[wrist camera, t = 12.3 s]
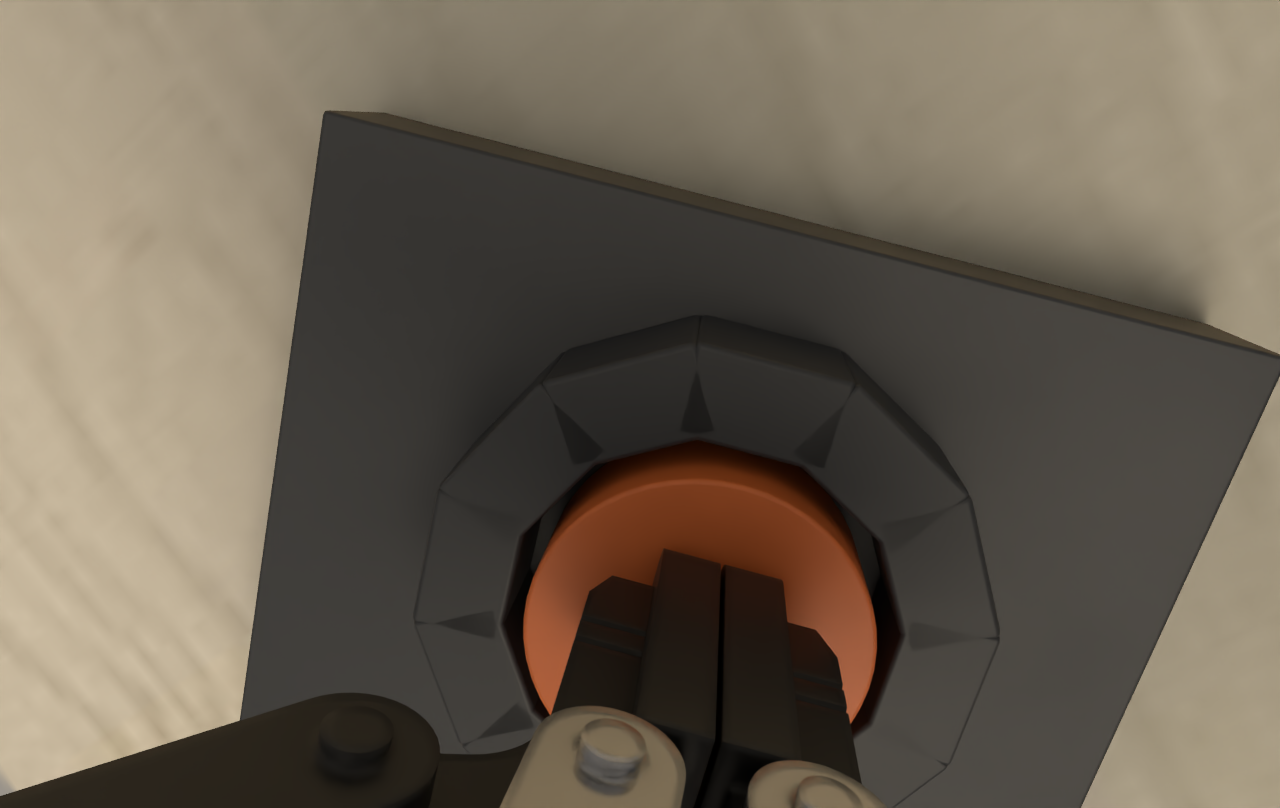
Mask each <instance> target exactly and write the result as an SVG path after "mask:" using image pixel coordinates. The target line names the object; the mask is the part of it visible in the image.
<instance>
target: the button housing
mask: <svg viewBox="0 0 1280 808" xmlns="http://www.w3.org/2000/svg"><path fill="white" fill-rule="evenodd" d="M1279 376H1280V355H1279V354H1277V353H1275V352H1272V351H1270V350H1267V349H1265V348H1263V347H1260V346H1258V345H1256V344H1253V343H1251V342H1248V341H1246V340H1244V339H1241V338H1239V337H1236V336H1234V335H1232V334H1229V333H1227V332H1225V331H1222V330H1220V329H1217V328H1215V327H1213V326H1210V325H1208V324H1204V323H1200V322H1196V321H1193V320H1189V319H1185V318H1181V317H1177V316H1173V315H1169V314H1165V313H1161V312H1158V311H1154V310H1150V309H1146V308H1142V307H1138V306H1134V305H1130V304H1126V303H1122V302H1119V301H1115V300H1111V299H1107V298H1103V297H1099V296H1095V295H1091V294H1087V293H1084V292H1080V291H1076V290H1072V289H1068V288H1064V287H1060V286H1056V285H1052V284H1049V283H1045V282H1041V281H1037V280H1033V279H1029V278H1025V277H1021V276H1017V275H1013V274H1010V273H1006V272H1002V271H998V270H994V269H990V268H986V267H982V266H978V265H975V264H971V263H967V262H963V261H959V260H955V259H951V258H947V257H943V256H939V255H936V254H932V253H928V252H924V251H920V250H916V249H912V248H908V247H904V246H901V245H897V244H893V243H889V242H885V241H881V240H877V239H873V238H869V237H865V236H862V235H858V234H854V233H850V232H846V231H842V230H838V229H834V228H830V227H827V226H823V225H819V224H815V223H811V222H807V221H803V220H799V219H795V218H792V217H788V216H784V215H780V214H776V213H772V212H768V211H764V210H760V209H756V208H753V207H749V206H745V205H741V204H737V203H733V202H729V201H725V200H721V199H718V198H714V197H710V196H706V195H702V194H698V193H694V192H690V191H686V190H682V189H679V188H675V187H671V186H667V185H663V184H659V183H655V182H651V181H647V180H644V179H640V178H636V177H632V176H628V175H624V174H620V173H616V172H612V171H609V170H605V169H601V168H597V167H593V166H589V165H585V164H581V163H577V162H573V161H570V160H566V159H562V158H558V157H554V156H550V155H546V154H542V153H538V152H535V151H531V150H527V149H523V148H519V147H515V146H511V145H507V144H503V143H499V142H496V141H492V140H488V139H484V138H480V137H476V136H472V135H468V134H464V133H461V132H457V131H453V130H449V129H445V128H441V127H437V126H433V125H429V124H425V123H422V122H418V121H414V120H410V119H406V118H402V117H398V116H394V115H390V114H387V113H378V112H351V111H325V112H324V114H323V121H322V128H321V135H320V142H319V150H318V157H317V164H316V172H315V179H314V186H313V193H312V201H311V208H310V215H309V222H308V230H307V237H306V244H305V251H304V259H303V266H302V273H301V280H300V288H299V295H298V302H297V310H296V317H295V324H294V331H293V339H292V346H291V353H290V360H289V368H288V375H287V382H286V389H285V397H284V404H283V411H282V419H281V426H280V433H279V440H278V448H277V455H276V462H275V469H274V477H273V484H272V491H271V498H270V506H269V513H268V520H267V528H266V535H265V542H264V549H263V557H262V564H261V571H260V578H259V586H258V593H257V600H256V607H255V615H254V622H253V629H252V637H251V644H250V651H249V658H248V666H247V673H246V680H245V687H244V695H243V702H242V709H241V716H240V721H241V720H244V719H247V718H250V717H253V716H256V715H260V714H263V713H266V712H269V711H272V710H275V709H279V708H282V707H285V706H288V705H291V704H294V703H298V702H301V701H304V700H307V699H310V698H314V697H318V696H322V695H327V694H334V693H353V692H354V693H366V694H372V695H377V696H382V697H385V698H389V699H392V700H395V701H397V702H399V703H402V704H404V705H406V706H408V707H409V708H411V709H413V710H414V711H416V712H417V713H418V714H420V715H421V716H422V717H423V718H424V719H425V720H426V721H427V722H428V723H429V724H430V726H431V727H432V728H433V730H434V732H435V734H436V736H437V737H438V741H439V745H440V753H442V754H489V753H496V752H501V751H505V750H509V749H513V748H515V747H518V746H520V745H523V744H525V743H526V742H528V741H530V740H531V739H532V736H533V734H534V732H535V730H536V729H537V727H538V726H539V724H540V723H541V722H542V721H543V720H544V719H545V718H547V717H548V716H550V714H549V712H548V711H547V709H546V707H545V706H544V704H543V702H542V701H541V699H540V697H539V695H538V692H537V690H536V688H535V685H534V683H533V681H532V678H531V675H530V671H529V668H528V664H527V661H526V655H525V648H524V640H523V618H524V611H525V605H526V599H527V595H528V592H529V589H530V585H531V582H532V579H533V577H534V574H535V572H536V570H537V568H538V565H539V563H540V561H541V559H542V556H543V554H544V552H545V550H546V548H547V545H548V543H549V541H550V539H551V536H552V534H553V532H554V530H555V527H556V525H557V523H558V521H559V519H560V517H561V515H562V513H563V511H564V509H565V507H566V506H567V504H568V503H569V501H570V500H571V498H572V497H573V495H574V494H575V493H576V492H577V490H578V489H579V488H580V487H581V486H582V485H583V484H584V483H585V481H586V480H587V479H588V478H589V477H591V476H592V475H593V474H594V473H595V472H597V471H598V470H599V469H600V468H601V467H602V466H604V465H605V464H607V463H609V462H610V461H613V460H617V459H621V458H626V457H630V456H634V455H638V454H642V453H646V452H650V451H654V450H658V449H662V448H666V447H670V446H674V445H678V444H682V443H687V442H691V441H695V440H699V441H703V442H707V443H711V444H715V445H718V446H722V447H726V448H730V449H734V450H737V451H741V452H745V453H749V454H753V455H756V456H760V457H764V458H768V459H772V460H776V461H779V462H783V463H787V464H791V465H795V466H798V467H799V468H801V469H802V470H803V471H804V472H806V473H807V474H808V475H809V476H810V477H812V478H813V479H814V480H815V481H816V482H817V483H818V484H819V485H820V486H821V487H822V488H823V489H824V491H825V492H826V493H827V494H828V495H829V496H830V497H831V499H832V500H833V502H834V503H835V504H836V506H837V507H838V509H839V510H840V512H841V513H842V515H843V517H844V519H845V521H846V523H847V525H848V527H849V529H850V531H851V534H852V537H853V540H854V543H855V546H856V549H857V553H858V556H859V560H860V563H861V567H862V570H863V574H864V577H865V581H866V584H867V588H868V591H869V595H870V598H871V602H872V605H873V610H874V615H875V621H876V627H877V654H876V662H875V670H874V673H873V677H872V680H871V684H870V687H869V690H868V693H867V695H866V697H865V699H864V702H863V704H862V706H861V708H860V710H859V712H858V713H857V715H856V716H855V718H854V719H853V721H852V723H851V724H850V725H851V730H852V735H853V740H854V746H855V751H856V756H857V761H858V767H859V772H860V777H861V782H862V785H863V786H865V787H866V788H867V789H869V790H870V791H871V792H872V793H874V794H875V795H876V796H877V797H878V798H879V799H880V800H881V801H882V802H883V803H884V804H885V806H886V807H887V808H1081V806H1082V804H1083V801H1084V799H1085V797H1086V795H1087V793H1088V791H1089V788H1090V786H1091V784H1092V782H1093V780H1094V778H1095V775H1096V773H1097V771H1098V769H1099V767H1100V765H1101V762H1102V760H1103V758H1104V756H1105V754H1106V752H1107V749H1108V747H1109V745H1110V743H1111V741H1112V739H1113V736H1114V734H1115V732H1116V730H1117V728H1118V726H1119V723H1120V721H1121V719H1122V717H1123V715H1124V713H1125V710H1126V708H1127V706H1128V704H1129V702H1130V700H1131V697H1132V695H1133V693H1134V691H1135V689H1136V687H1137V684H1138V682H1139V680H1140V678H1141V676H1142V674H1143V671H1144V669H1145V667H1146V665H1147V663H1148V661H1149V658H1150V656H1151V654H1152V652H1153V650H1154V648H1155V645H1156V643H1157V641H1158V639H1159V637H1160V635H1161V632H1162V630H1163V628H1164V626H1165V624H1166V622H1167V619H1168V617H1169V615H1170V613H1171V611H1172V608H1173V606H1174V604H1175V602H1176V600H1177V598H1178V595H1179V593H1180V591H1181V589H1182V587H1183V585H1184V582H1185V580H1186V578H1187V576H1188V574H1189V572H1190V569H1191V567H1192V565H1193V563H1194V561H1195V559H1196V556H1197V554H1198V552H1199V550H1200V548H1201V546H1202V543H1203V541H1204V539H1205V537H1206V535H1207V533H1208V530H1209V528H1210V526H1211V524H1212V522H1213V520H1214V517H1215V515H1216V513H1217V511H1218V509H1219V507H1220V504H1221V502H1222V500H1223V498H1224V496H1225V494H1226V491H1227V489H1228V487H1229V485H1230V483H1231V481H1232V478H1233V476H1234V474H1235V472H1236V470H1237V468H1238V465H1239V463H1240V461H1241V459H1242V457H1243V455H1244V452H1245V450H1246V448H1247V446H1248V444H1249V442H1250V439H1251V437H1252V435H1253V433H1254V431H1255V429H1256V426H1257V424H1258V422H1259V420H1260V418H1261V416H1262V413H1263V411H1264V409H1265V407H1266V405H1267V403H1268V400H1269V398H1270V396H1271V394H1272V392H1273V389H1274V387H1275V385H1276V383H1277V381H1278V379H1279Z"/></svg>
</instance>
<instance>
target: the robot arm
mask: <svg viewBox="0 0 1280 808" xmlns="http://www.w3.org/2000/svg"><path fill="white" fill-rule="evenodd" d="M842 686H843V683H842V678H841V672H840V667H839V662H838V657H837V656H836V655H835V654H834V652H833V651H832V650H831V648H830V647H829V646H828V644H827V643H826V642H825V641H824V639H823V638H822V637H821V635H820V634H819V633H818V631H817V630H815V629H811V628H807V627H804V626H800V625H796V624H793V623H789V622H787V613H786V603H785V594H784V584H783V581H782V580H781V579H777V578H774V577H770V576H766V575H763V574H759V573H755V572H751V571H748V570H744V569H740V568H736V567H733V566H729V565H724V566H723V568H722V570H721V564H720V563H717V562H713V561H709V560H706V559H702V558H698V557H695V556H691V555H687V554H683V553H680V552H676V551H672V550H668V549H665V548H663V551H662V554H661V557H660V560H659V563H658V567H657V570H656V574H655V577H654V581H653V585H652V586H650V585H646V584H643V583H639V582H635V581H632V580H628V579H624V578H620V577H617V576H613V575H612V576H611V577H609V578H608V579H606V580H605V581H603V582H602V583H601V584H599V585H598V586H596V587H595V588H593V589H592V590H590V591H589V594H588V597H587V600H586V603H585V607H584V610H583V613H582V617H581V620H580V623H579V626H578V629H577V632H576V636H575V640H574V642H573V645H572V649H571V652H570V655H569V658H568V661H567V665H566V668H565V671H564V674H563V677H562V681H561V684H560V687H559V690H558V694H557V697H556V700H555V703H554V706H553V710H552V713H551V715H550V716H548V717H547V718H545V719H544V720H543V721H542V722H541V723H540V724H539V726H538V727H537V729H536V730H535V732H534V734H533V736H532V739H531V740H530V741H528V742H526V743H525V744H523V745H520V746H518V747H515V748H513V749H509V750H505V751H501V752H496V753H489V754H442V753H440V745H439V741H438V737H437V736H436V734H435V732H434V730H433V728H432V727H431V726H430V724H429V723H428V722H427V721H426V720H425V719H424V718H423V717H422V716H421V715H420V714H418V713H417V712H416V711H414V710H413V709H411V708H409V707H408V706H406V705H404V704H402V703H399V702H397V701H395V700H392V699H389V698H385V697H382V696H377V695H372V694H366V693H354V692H353V693H334V694H327V695H322V696H318V697H314V698H310V699H307V700H304V701H301V702H298V703H294V704H291V705H288V706H285V707H282V708H279V709H275V710H272V711H269V712H266V713H263V714H260V715H256V716H253V717H250V718H247V719H244V720H241V721H237V722H234V723H231V724H228V725H225V726H221V727H218V728H215V729H212V730H209V731H206V732H202V733H199V734H196V735H193V736H190V737H187V738H183V739H180V740H177V741H174V742H171V743H168V744H164V745H161V746H158V747H155V748H152V749H149V750H145V751H142V752H139V753H136V754H133V755H130V756H126V757H123V758H120V759H117V760H114V761H111V762H107V763H104V764H101V765H98V766H95V767H92V768H88V769H85V770H82V771H79V772H76V773H72V774H69V775H66V776H63V777H60V778H57V779H53V780H50V781H47V782H44V783H41V784H38V785H34V786H31V787H28V788H25V789H22V790H19V791H15V792H12V793H9V794H6V795H3V796H0V808H887V807H886V806H885V804H884V803H883V802H882V801H881V800H880V799H879V798H878V797H877V796H876V795H875V794H874V793H872V792H871V791H870V790H869V789H867V788H866V787H865V786H863V785H862V782H861V777H860V772H859V767H858V761H857V756H856V751H855V746H854V740H853V735H852V730H851V725H850V720H849V714H848V713H846V711H847V704H846V699H845V693H844V690H842Z"/></svg>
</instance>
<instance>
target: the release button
mask: <svg viewBox="0 0 1280 808" xmlns="http://www.w3.org/2000/svg"><path fill="white" fill-rule="evenodd" d="M663 548H665V549H668V550H672V551H676V552H680V553H683V554H687V555H691V556H695V557H698V558H702V559H706V560H709V561H713V562H717V563H720V564H721V570H722V568H723V566H724V565H729V566H733V567H736V568H740V569H744V570H748V571H751V572H755V573H759V574H763V575H766V576H770V577H774V578H777V579H781V580H782V581H783V584H784V594H785V603H786V613H787V622H789V623H793V624H796V625H800V626H804V627H807V628H811V629H815V630H817V631H818V633H819V634H820V635H821V637H822V638H823V639H824V641H825V642H826V643H827V644H828V646H829V647H830V648H831V650H832V651H833V652H834V654H835V655H836V656H837V657H838V662H839V667H840V672H841V678H842V683H843V686H842V690H844V693H845V699H846V704H847V711H846V713H848V714H849V720H850V724H851V723H852V721H853V719H854V718H855V716H856V715H857V713H858V712H859V710H860V708H861V706H862V704H863V702H864V699H865V697H866V695H867V693H868V690H869V687H870V684H871V680H872V677H873V673H874V670H875V662H876V654H877V627H876V621H875V615H874V610H873V605H872V602H871V598H870V595H869V591H868V588H867V584H866V581H865V577H864V574H863V570H862V567H861V563H860V560H859V556H858V553H857V549H856V546H855V543H854V540H853V537H852V534H851V531H850V529H849V527H848V525H847V523H846V521H845V519H844V517H843V515H842V513H841V512H840V510H839V509H838V507H837V506H836V504H835V503H834V502H833V500H832V499H831V497H830V496H829V495H828V494H827V493H826V492H825V491H824V489H823V488H822V487H821V486H820V485H819V484H818V483H817V482H816V481H815V480H814V479H813V478H812V477H810V476H809V475H808V474H807V473H806V472H804V471H803V470H802V469H801V468H799V467H798V466H795V465H791V464H787V463H783V462H779V461H776V460H772V459H768V458H764V457H760V456H756V455H753V454H749V453H745V452H741V451H737V450H734V449H730V448H726V447H722V446H718V445H715V444H711V443H707V442H703V441H699V440H695V441H691V442H687V443H682V444H678V445H674V446H670V447H666V448H662V449H658V450H654V451H650V452H646V453H642V454H638V455H634V456H630V457H626V458H621V459H617V460H613V461H610V462H609V463H607V464H605V465H604V466H602V467H601V468H600V469H599V470H598V471H597V472H595V473H594V474H593V475H592V476H591V477H589V478H588V479H587V480H586V481H585V483H584V484H583V485H582V486H581V487H580V488H579V489H578V490H577V492H576V493H575V494H574V495H573V497H572V498H571V500H570V501H569V503H568V504H567V506H566V507H565V509H564V511H563V513H562V515H561V517H560V519H559V521H558V523H557V525H556V527H555V530H554V532H553V534H552V536H551V539H550V541H549V543H548V545H547V548H546V550H545V552H544V554H543V556H542V559H541V561H540V563H539V565H538V568H537V570H536V572H535V574H534V577H533V579H532V582H531V585H530V589H529V592H528V595H527V599H526V605H525V611H524V618H523V640H524V648H525V655H526V661H527V664H528V668H529V671H530V675H531V678H532V681H533V683H534V685H535V688H536V690H537V692H538V695H539V697H540V699H541V701H542V702H543V704H544V706H545V707H546V709H547V711H548V712H549V714H550V715H551V713H552V710H553V706H554V703H555V700H556V697H557V694H558V690H559V687H560V684H561V681H562V677H563V674H564V671H565V668H566V665H567V661H568V658H569V655H570V652H571V649H572V645H573V642H574V640H575V636H576V632H577V629H578V626H579V623H580V620H581V617H582V613H583V610H584V607H585V603H586V600H587V597H588V594H589V591H590V590H592V589H593V588H595V587H596V586H598V585H599V584H601V583H602V582H603V581H605V580H606V579H608V578H609V577H611V576H612V575H613V576H617V577H620V578H624V579H628V580H632V581H635V582H639V583H643V584H646V585H650V586H652V585H653V581H654V577H655V574H656V570H657V567H658V563H659V560H660V557H661V554H662V551H663Z"/></svg>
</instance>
